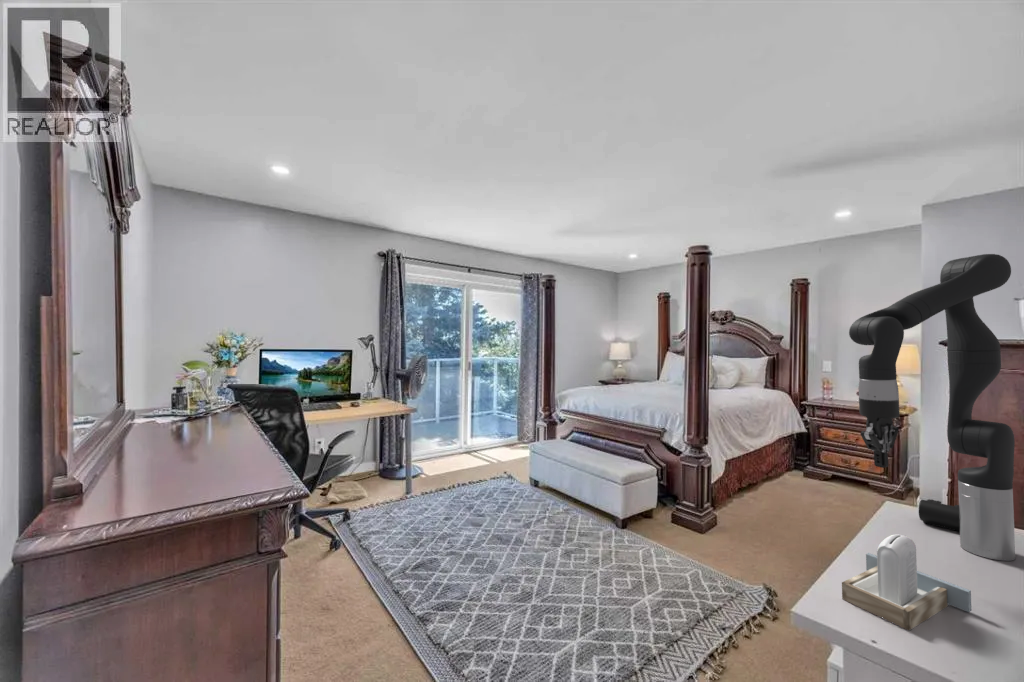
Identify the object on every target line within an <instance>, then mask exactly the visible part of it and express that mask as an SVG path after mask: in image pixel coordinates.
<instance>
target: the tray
mask: <svg viewBox="0 0 1024 682" xmlns="http://www.w3.org/2000/svg"><path fill="white" fill-rule="evenodd" d="M865 564H866V567H865V568H866V570H865V571H867V570H870V569H872V568H874V567H876V566H877V554H873V553H870V552H868V553H866V554H865ZM852 585H853V586H855V587H858V588H860V589H862V590H864V591H867V592H869V593H871V594H873V595H876V596H878V597H880V596H879V594H878V572H877V573H875V574H873V575H871V576H869V577H867V578H865V579H863V580H860V581H858V582H856V583H854V584H852ZM917 586H918V590H917V594H916V595H915V596H914V597H913V598H912V599H911V600H910V601H908V602H907V603H906V604H905V605H903V606H901V607H903V608H907V607H908V606H910V605H912V604H913V603H915V602H917V601H919V600H920V599H922V598H924V597H926V596H927V595H929V594H931V593H932V592H934V591H936V590H938V589H939V588H941V587H942V588H945V589H947V605H949V606H952V607H955V608H957V609H959V610H962V611H965V612H967V613H970V612H972V590H971V589H968V588H965V587H963V586H959V585H958V584H957V585H956V584H955V583H952V582H949V581H946V580H944V579H941V578H938V577H936V576H933V575H930V574H927V573H924V572H923V571H919V570H917ZM880 598H882V597H880ZM883 599H884V598H883ZM885 600H886V599H885ZM887 601H889V600H887ZM889 602H891V601H889ZM892 603H893V602H892ZM894 604H896V603H894ZM896 605H898V604H896ZM898 606H900V605H898Z"/></svg>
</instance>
